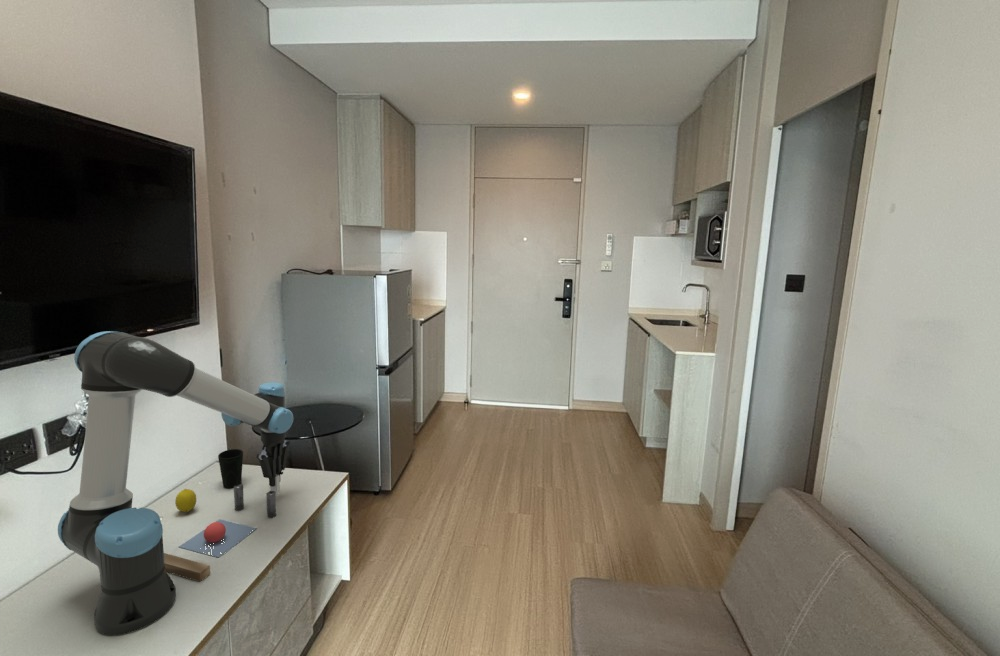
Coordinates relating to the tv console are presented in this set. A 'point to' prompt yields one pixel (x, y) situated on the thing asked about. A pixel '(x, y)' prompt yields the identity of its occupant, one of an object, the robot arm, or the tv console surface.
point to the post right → (271, 504)
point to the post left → (238, 497)
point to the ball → (214, 532)
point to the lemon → (185, 500)
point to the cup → (231, 467)
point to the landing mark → (230, 538)
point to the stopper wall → (186, 567)
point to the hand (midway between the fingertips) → (275, 492)
